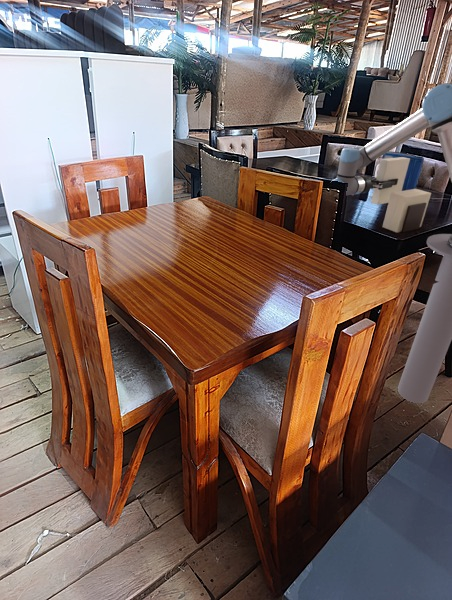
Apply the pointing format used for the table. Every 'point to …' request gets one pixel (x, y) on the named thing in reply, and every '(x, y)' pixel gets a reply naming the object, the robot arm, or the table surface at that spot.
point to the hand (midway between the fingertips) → (392, 180)
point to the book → (412, 170)
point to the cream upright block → (406, 210)
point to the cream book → (387, 171)
